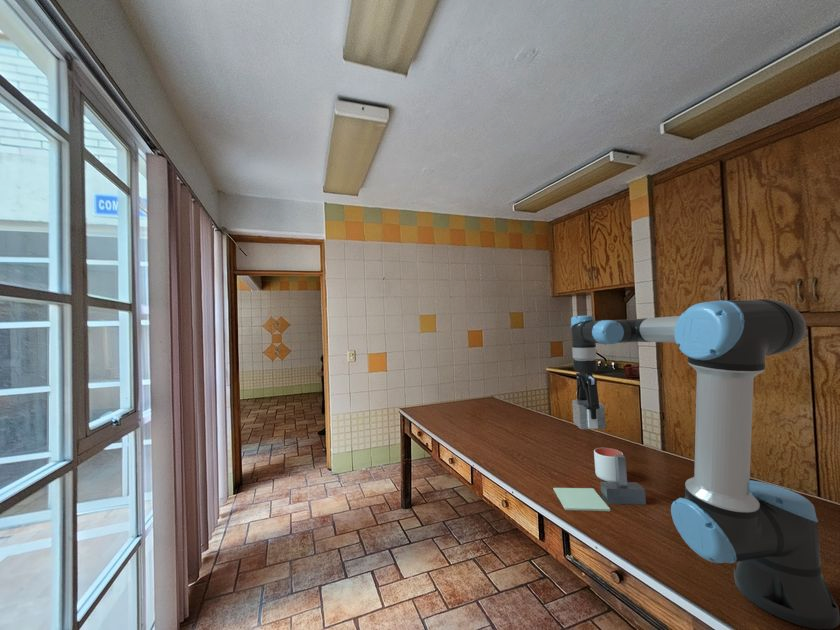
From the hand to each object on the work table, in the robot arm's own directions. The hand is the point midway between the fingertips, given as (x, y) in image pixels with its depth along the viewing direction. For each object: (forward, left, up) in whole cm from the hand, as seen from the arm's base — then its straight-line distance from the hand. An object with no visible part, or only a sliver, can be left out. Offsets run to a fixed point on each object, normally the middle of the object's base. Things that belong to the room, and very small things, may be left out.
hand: (588, 424), depth 115 cm
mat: (0, +5, -26) cm, 26 cm away
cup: (+17, -12, -26) cm, 33 cm away
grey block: (0, -9, -26) cm, 27 cm away
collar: (0, 0, 0) cm, 0 cm away
